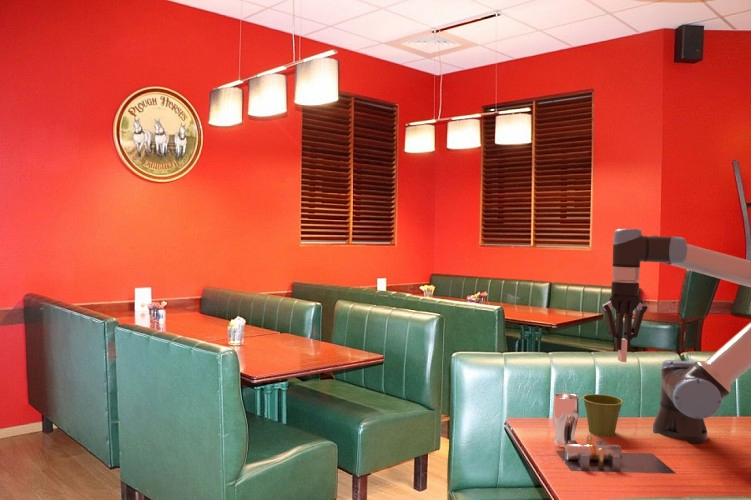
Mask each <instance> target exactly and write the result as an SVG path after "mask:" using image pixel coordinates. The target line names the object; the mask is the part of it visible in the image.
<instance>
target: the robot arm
mask: <svg viewBox="0 0 751 500" xmlns="http://www.w3.org/2000/svg"><path fill="white" fill-rule="evenodd" d="M641 262H644V263H646V262H649V263H661V264H665V265H669V266H674V267H678V268H681V269H684V270H687V271H691V272H694V273H697V274H698V273H699V274H702V275H705V276H709V277H713V278H716V279H720V280H724V281H727V282H730V283H734V284H737V285H741V286H744V287H749V288H751V260H749V259H744V258H742V257H741V258H740V257H737V256H734V255H730V254H727V253H723V252H718V251H715V250H712V249H708V248H707V249H706V248H703V247H700V246H697V245H693V244H689V243H687V240H686V238H685V237H682V236H663V235H662V236H660V235H655V234H654V235H649V236H647V235H643V234H642V230H641V229H639V228H618V229H615V231H614V234H613V243H612V265H611V266H612V270H611V271H612V273H611V274H612V275H611V279H612V280H613V281H611V291H610V293H611V295H610V298H609V301H607V302H606V303H602V304H601V309H603V311H604V315H605V320H606V325H607V330H608V335H609V336H610V337H612V338H614V339H615V343H614V344H615V345H614V347H615V350H617V361H619V362H621V363H627V358H628V356H627V355H628V351H630V350H631V341H632V340H633V339H636V338H638V335H639V332H640V328H641V325H642V323H643V318H644V314H646V312H647V310H648V308H649V307H648V306H647V305H645V304H643V303H641V300H640V298H639V294H640V283H639V281H640V279H641V278H640V277H641V272H640V271H641ZM612 308H613V310H615V312H614V313H615V321H614V317H613V312H612ZM635 310H636V312H635V314H634V311H635ZM633 315H634V318H633ZM633 319H634V320H633ZM750 368H751V321H750V322H749V323H748V324H746V325H745V326H744V327H743V328H742V329H740V330H739V331H738V332H737V333H736V334H735V335H734V336H732V338H730V339H729V340H728V341H727V342H726V343H725V344H723V346H721V347H720V348H719V349H717V351H715V352H714V353H713V354H712V355H711V356H710V357H709V358H707V359H706V360H696V361H688V360H675V359H673V360H672V359H667V360H664V361H662V363H661V369H660V371H661V373H660V374H661V376H660V379H661V380H660V396H659V397H660V398H659V399H660V400H659V401H660V403H659V405H660V406H659V409H658V411H657V414H656V416H655V419H654V421H653V422H652V432H653V433H654V434H660V435H662V436H663V437H667V438H671V439H676V440H681V441H686V442H687V443H689V444H700V443H705V442H706V441H708V430H707V426H706V423H705V419H707V418H710V417H712V416H713V415H714V416H715V414H716V413H717V412H719V410H720V407H721V404H722V400H724V398H726V397H727V396H728V395H729V394H731V388H732V387H731V385H732V383H734V382H735V381H736V380H737V379H739V378H740V377H741V376H742V375H744V373H746V372H747V371H748V370H750Z"/></svg>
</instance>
